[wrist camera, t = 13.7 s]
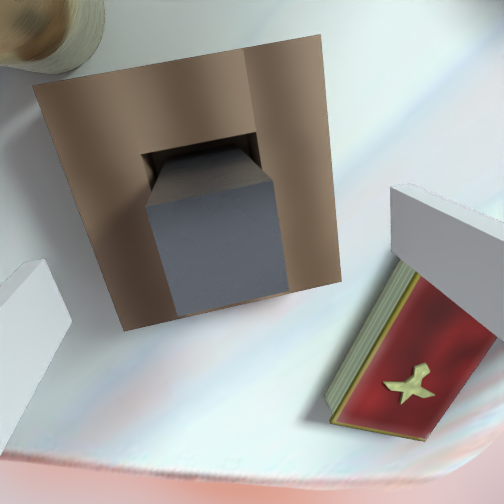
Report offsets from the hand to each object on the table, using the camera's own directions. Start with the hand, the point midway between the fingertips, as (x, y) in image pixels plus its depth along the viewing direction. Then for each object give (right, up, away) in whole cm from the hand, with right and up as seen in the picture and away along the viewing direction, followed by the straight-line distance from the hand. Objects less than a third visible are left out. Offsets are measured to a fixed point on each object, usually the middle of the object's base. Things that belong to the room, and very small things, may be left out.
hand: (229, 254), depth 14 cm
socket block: (-3, +6, +15) cm, 16 cm away
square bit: (-2, +5, +14) cm, 15 cm away
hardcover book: (+17, -8, +24) cm, 31 cm away
